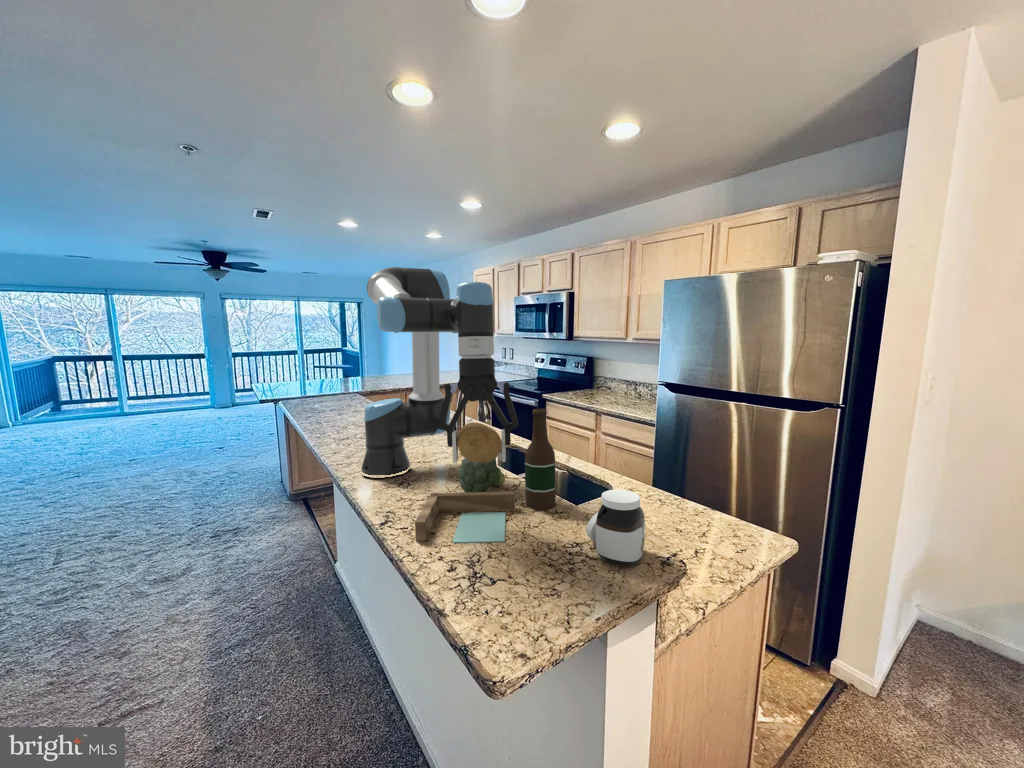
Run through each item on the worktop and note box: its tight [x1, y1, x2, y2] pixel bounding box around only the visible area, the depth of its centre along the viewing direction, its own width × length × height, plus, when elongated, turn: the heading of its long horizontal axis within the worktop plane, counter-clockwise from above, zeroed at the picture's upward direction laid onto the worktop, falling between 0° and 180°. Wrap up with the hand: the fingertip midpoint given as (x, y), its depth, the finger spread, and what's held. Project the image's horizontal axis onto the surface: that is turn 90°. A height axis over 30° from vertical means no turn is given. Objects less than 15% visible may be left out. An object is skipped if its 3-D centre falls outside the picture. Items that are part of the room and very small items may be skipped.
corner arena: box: [414, 491, 516, 542], centre depth 90 cm, size 16×20×4 cm
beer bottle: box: [524, 408, 557, 511], centre depth 99 cm, size 8×8×24 cm
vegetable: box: [457, 457, 506, 492], centre depth 110 cm, size 12×13×15 cm
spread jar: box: [585, 489, 646, 567], centre depth 76 cm, size 12×11×12 cm
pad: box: [452, 511, 507, 544], centre depth 88 cm, size 14×10×1 cm
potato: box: [457, 422, 502, 463], centre depth 86 cm, size 10×14×8 cm
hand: (479, 460), depth 87 cm, fingers closed on potato, 10 cm apart
